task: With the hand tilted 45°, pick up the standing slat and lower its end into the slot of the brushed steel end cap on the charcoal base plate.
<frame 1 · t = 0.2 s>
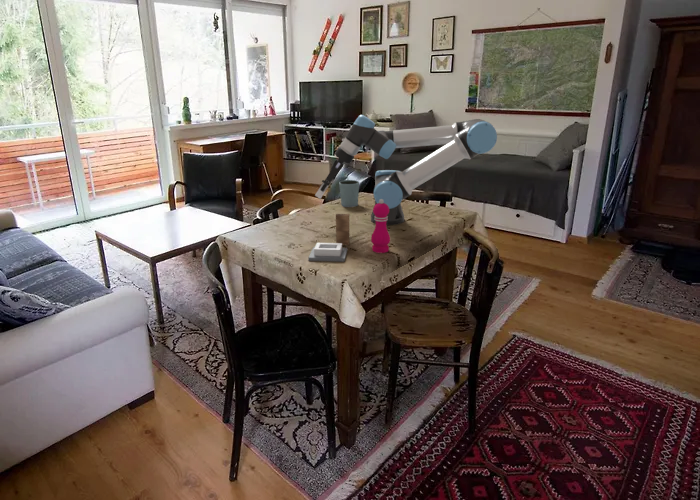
hand: (320, 193, 197), 16 cm above the table, tool tilted 35°, fingers open, 13 cm apart
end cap: (328, 255, 172), on the table
blue-grey cup: (349, 205, 239), on the table
pepper mill: (380, 250, 177), on the table
wooden slat: (342, 244, 184), on the table
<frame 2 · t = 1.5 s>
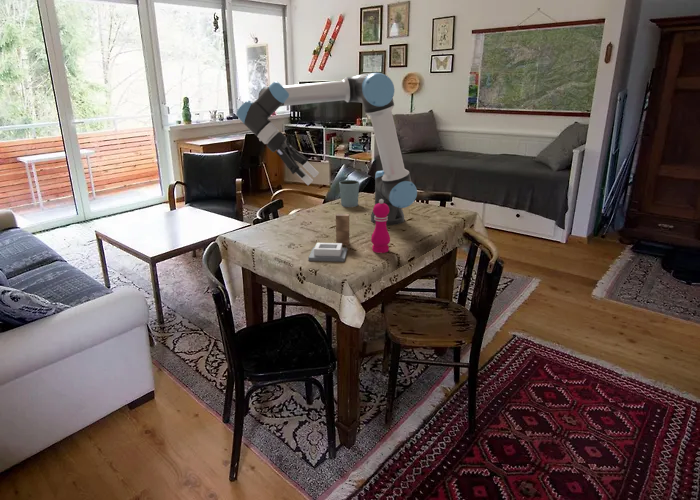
hand: (313, 179, 176), 26 cm above the table, tool tilted 45°, fingers open, 13 cm apart
nothing on the table moved.
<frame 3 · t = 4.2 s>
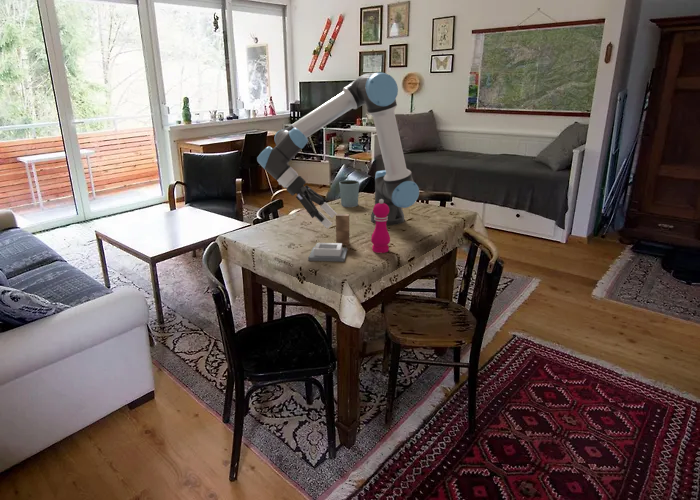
hand: (332, 220, 181), 10 cm above the table, tool tilted 45°, fingers open, 13 cm apart
nothing on the table moved.
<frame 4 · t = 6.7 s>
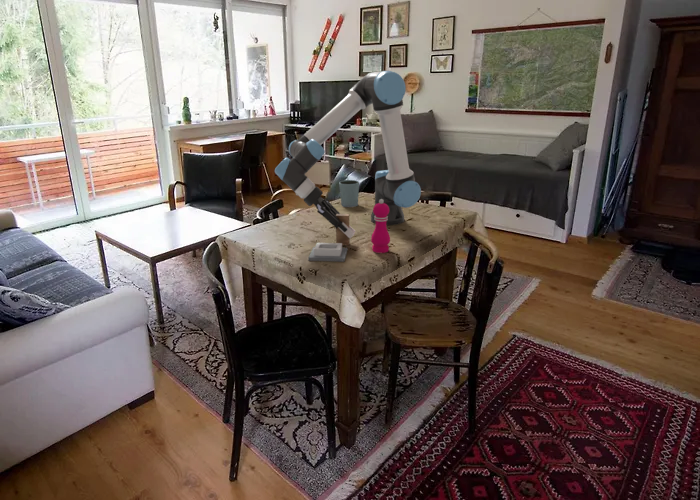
hand: (352, 234, 182), 4 cm above the table, tool tilted 45°, fingers closed on wooden slat, 2 cm apart
wooden slat: (342, 244, 184), on the table, touching gripper
everything else where it was.
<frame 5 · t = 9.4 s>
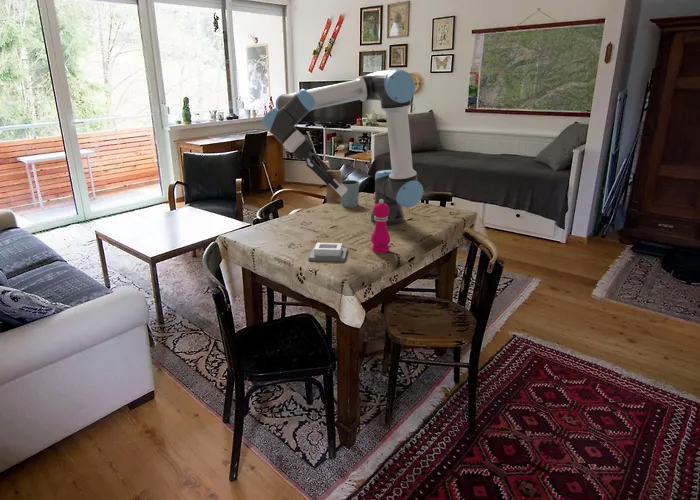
hand: (344, 192, 171), 22 cm above the table, tool tilted 45°, fingers closed on wooden slat, 2 cm apart
wooden slat: (334, 202, 173), point 18 cm above the table, touching gripper
everything else where it was.
when the fingers open (6 cm above the table, at t = 12.3 s): wooden slat stays where it is, resting on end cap.
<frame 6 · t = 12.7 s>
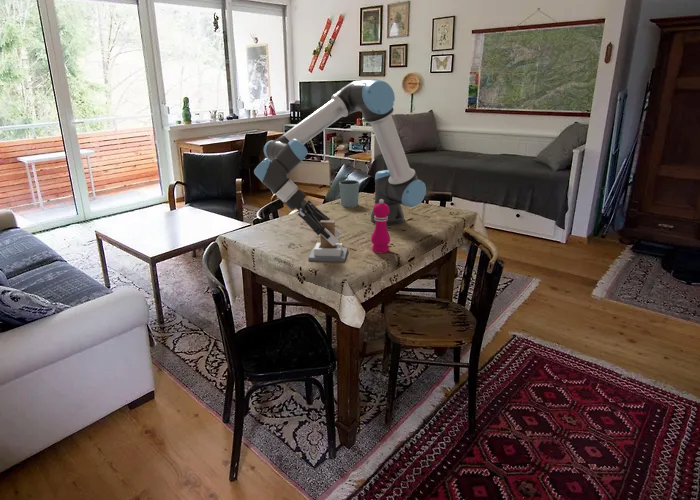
hand: (337, 239, 170), 6 cm above the table, tool tilted 45°, fingers open, 8 cm apart
wooden slat: (328, 252, 172), point 1 cm above the table, touching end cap
everything else where it was.
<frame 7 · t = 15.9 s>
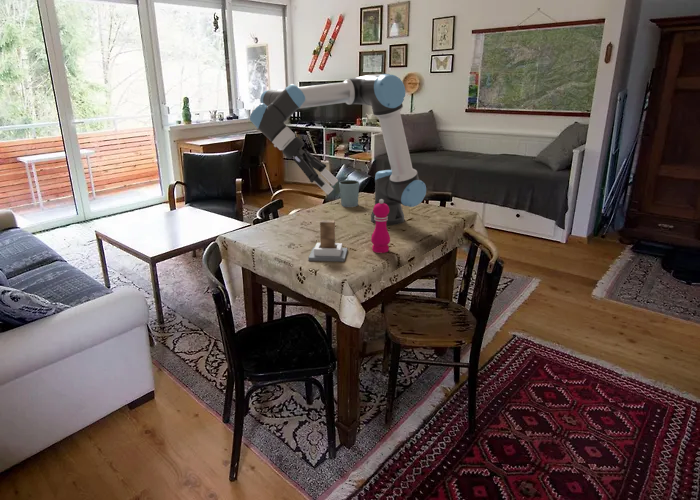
hand: (333, 187, 163), 26 cm above the table, tool tilted 45°, fingers open, 13 cm apart
nothing on the table moved.
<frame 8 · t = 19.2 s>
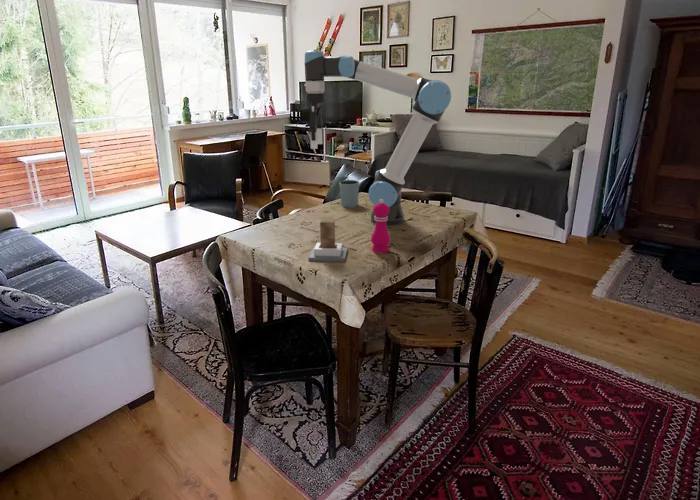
hand: (316, 146, 194), 35 cm above the table, tool pointing down, fingers open, 13 cm apart
nothing on the table moved.
at the end: wooden slat 0.1 cm off-centre on the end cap, point 1.2 cm above the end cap's base; wooden slat tilted 0°; the gripper is holding nothing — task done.
